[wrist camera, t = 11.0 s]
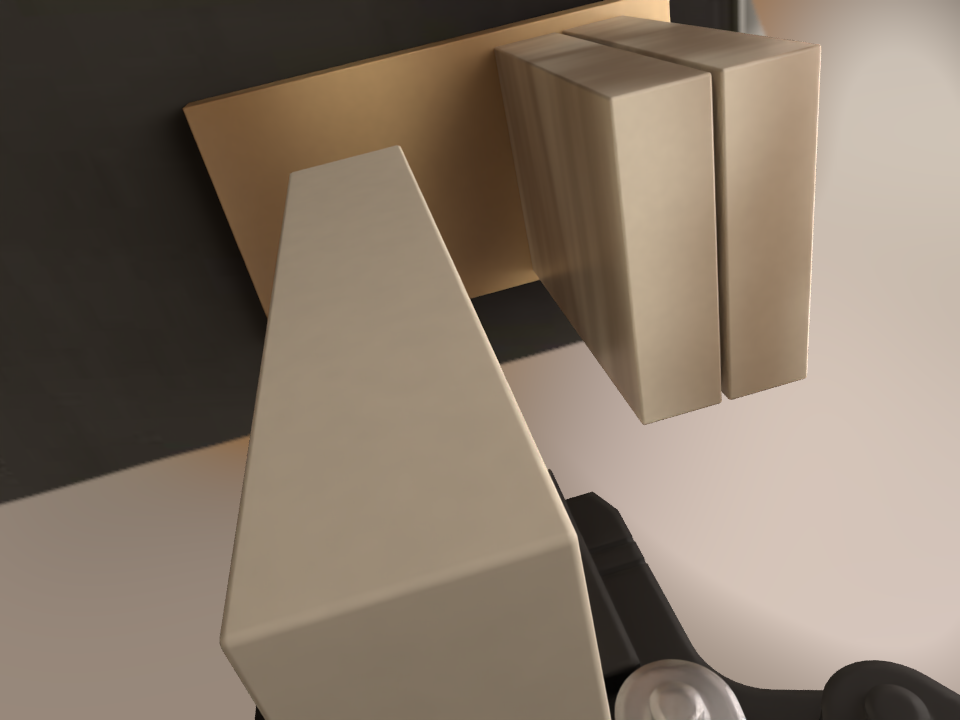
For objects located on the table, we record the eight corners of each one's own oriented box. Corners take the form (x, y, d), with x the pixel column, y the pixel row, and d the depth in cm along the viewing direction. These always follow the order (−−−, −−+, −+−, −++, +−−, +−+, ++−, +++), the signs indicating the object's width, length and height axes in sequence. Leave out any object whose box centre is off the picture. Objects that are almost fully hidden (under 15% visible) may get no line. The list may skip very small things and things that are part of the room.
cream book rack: (281, 338, 31) (258, 553, 19) (187, 102, 26) (81, 207, 14) (671, 232, 32) (864, 376, 21) (655, -13, 27) (899, 0, 16)
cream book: (400, 492, 19) (491, 1094, 9) (288, 172, 15) (212, 645, 4) (484, 468, 19) (670, 1029, 9) (399, 143, 15) (579, 534, 5)
